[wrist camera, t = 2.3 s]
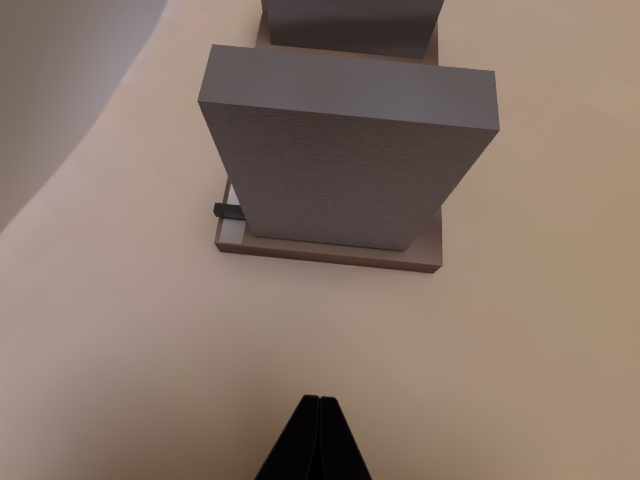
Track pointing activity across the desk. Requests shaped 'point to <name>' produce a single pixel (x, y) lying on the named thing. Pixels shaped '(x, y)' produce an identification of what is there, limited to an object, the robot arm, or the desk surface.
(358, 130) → the grey block
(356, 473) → the robot arm
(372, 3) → the stand
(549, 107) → the desk surface
